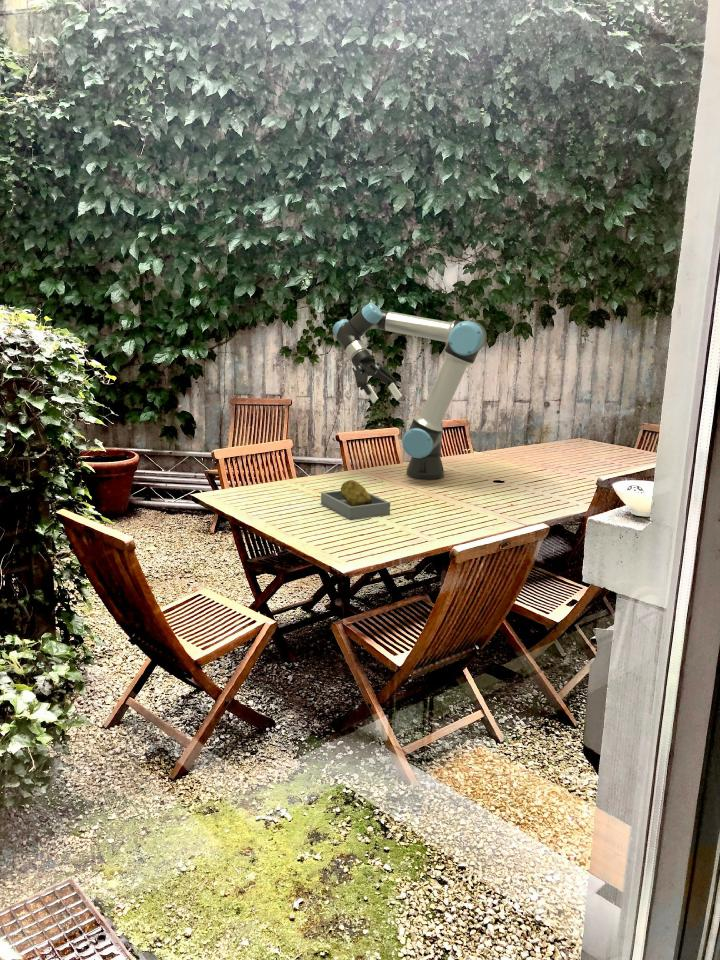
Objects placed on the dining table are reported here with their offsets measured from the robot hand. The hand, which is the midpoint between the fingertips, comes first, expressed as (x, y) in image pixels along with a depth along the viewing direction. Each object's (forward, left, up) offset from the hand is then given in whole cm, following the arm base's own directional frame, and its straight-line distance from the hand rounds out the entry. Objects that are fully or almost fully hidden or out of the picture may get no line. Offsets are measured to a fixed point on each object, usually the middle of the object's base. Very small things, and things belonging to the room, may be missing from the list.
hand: (387, 399), depth 261 cm
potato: (+24, -26, -32) cm, 48 cm away
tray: (+24, -27, -33) cm, 48 cm away
